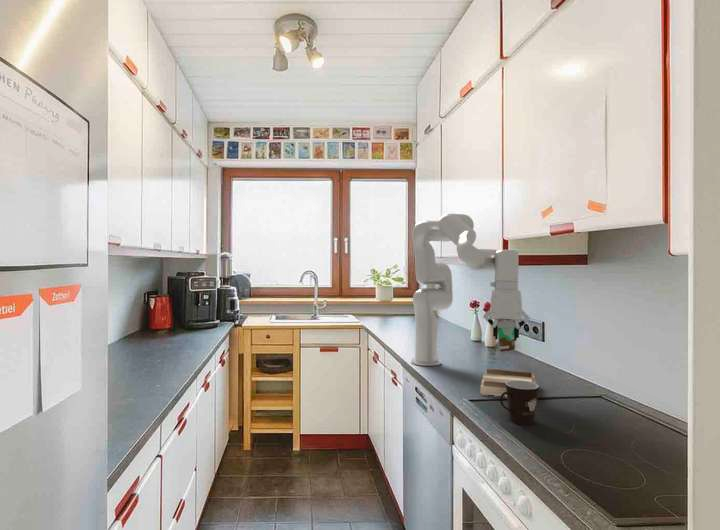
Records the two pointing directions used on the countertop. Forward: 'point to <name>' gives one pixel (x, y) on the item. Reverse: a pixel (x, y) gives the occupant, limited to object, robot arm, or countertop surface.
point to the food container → (506, 334)
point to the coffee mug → (521, 401)
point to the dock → (502, 380)
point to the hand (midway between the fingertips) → (505, 338)
